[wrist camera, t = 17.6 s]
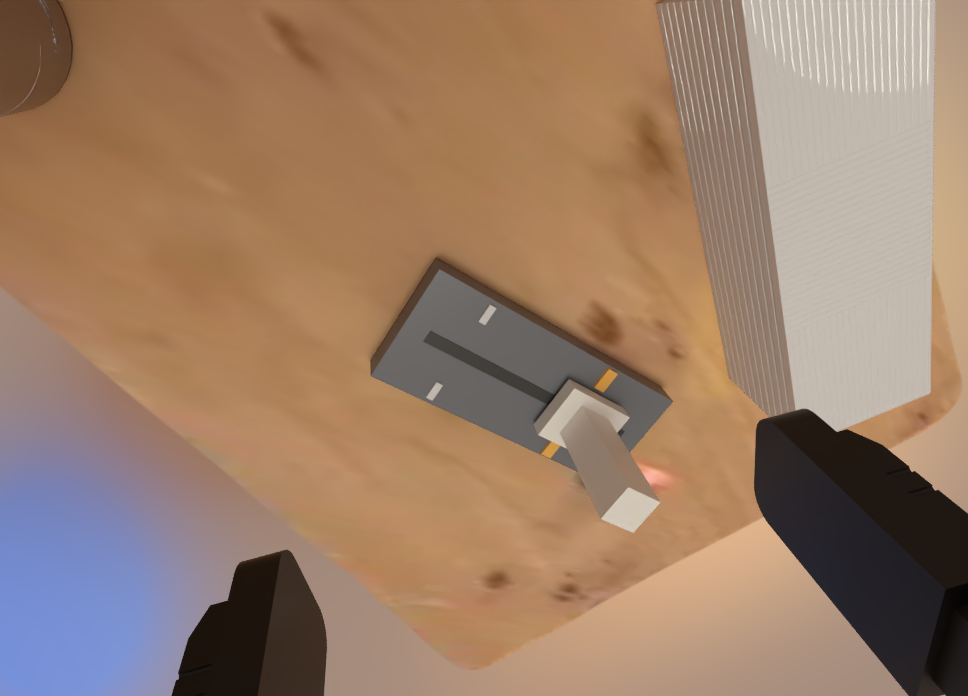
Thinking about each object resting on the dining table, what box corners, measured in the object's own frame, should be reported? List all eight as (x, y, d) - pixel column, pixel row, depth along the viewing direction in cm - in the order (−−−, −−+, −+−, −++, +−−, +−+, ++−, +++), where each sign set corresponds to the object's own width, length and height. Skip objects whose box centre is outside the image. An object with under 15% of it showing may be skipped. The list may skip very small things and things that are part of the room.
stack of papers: (654, 4, 40) (741, -4, 31) (803, -61, 40) (937, -89, 31) (727, 377, 56) (800, 447, 47) (835, 332, 56) (930, 393, 46)
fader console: (370, 360, 49) (370, 377, 46) (435, 257, 46) (439, 270, 43) (594, 466, 58) (604, 485, 55) (660, 386, 55) (674, 403, 52)
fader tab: (533, 424, 51) (574, 521, 41) (569, 378, 49) (621, 468, 39) (587, 450, 53) (639, 549, 43) (623, 407, 51) (685, 499, 41)
